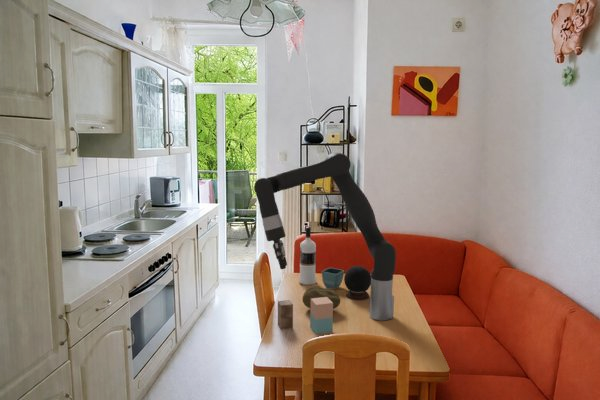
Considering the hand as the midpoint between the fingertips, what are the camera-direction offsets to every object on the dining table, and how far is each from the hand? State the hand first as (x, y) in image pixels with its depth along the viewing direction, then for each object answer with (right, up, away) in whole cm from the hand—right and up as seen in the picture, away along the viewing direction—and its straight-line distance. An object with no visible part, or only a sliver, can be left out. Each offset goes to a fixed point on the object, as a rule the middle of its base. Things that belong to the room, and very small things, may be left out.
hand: (284, 267), depth 175 cm
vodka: (+10, -18, +61) cm, 64 cm away
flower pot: (+23, -19, +53) cm, 61 cm away
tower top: (+15, -19, +2) cm, 25 cm away
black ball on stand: (+34, -20, +41) cm, 57 cm away
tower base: (+15, -25, +3) cm, 30 cm away
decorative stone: (+16, -23, +23) cm, 36 cm away
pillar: (0, -25, +6) cm, 26 cm away
